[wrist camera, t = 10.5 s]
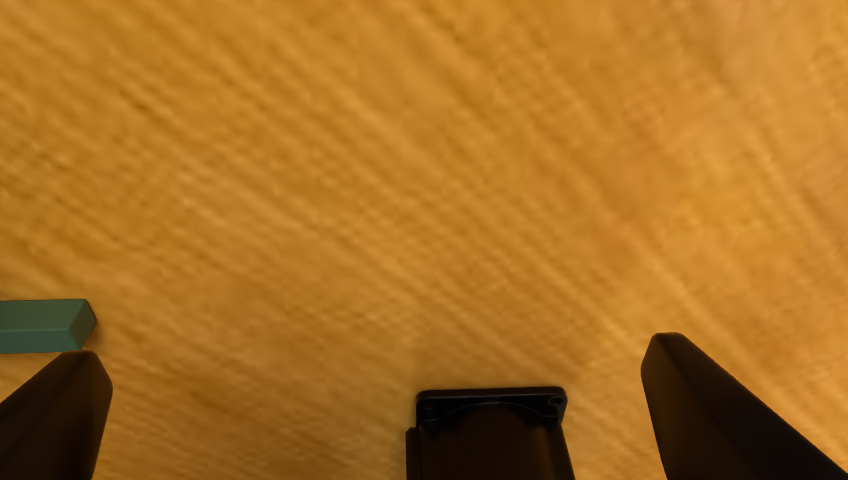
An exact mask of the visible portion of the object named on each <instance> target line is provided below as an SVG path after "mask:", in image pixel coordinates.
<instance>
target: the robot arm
mask: <svg viewBox="0 0 848 480" xmlns="http://www.w3.org/2000/svg"><path fill="white" fill-rule="evenodd" d="M641 378H642V383H643V387H644V391H645V395H646V399H647V404H648V408H649V412H650V416H651V420H652V424H653V429H654V433H655V437H656V441H657V445H658V449H659V453H660V457H661V461H662V464H663V467H664V471H665V474H666V477H667V480H848V473H847V472H845V471H844V470H843V469H842V468H841V467H839V466H838V465H837V464H836V463H835V462H834V461H832V460H831V459H830V458H829V457H828V456H826V455H825V454H824V453H823V452H822V451H820V450H819V449H818V448H817V447H816V446H815V445H813V444H812V443H811V442H810V441H809V440H807V439H806V438H805V437H804V436H803V435H801V434H800V433H799V432H798V431H797V430H796V429H794V428H793V427H792V426H791V425H790V424H788V423H787V422H786V421H785V420H784V419H783V418H781V417H780V416H779V415H778V414H777V413H775V412H774V411H773V410H772V409H771V408H769V407H768V406H767V405H766V404H765V403H764V402H762V401H761V400H760V399H759V398H758V397H756V396H755V395H754V394H753V393H752V392H751V391H749V390H748V389H747V388H746V387H745V386H743V385H742V384H741V383H740V382H739V381H737V380H736V379H735V378H734V377H733V376H732V375H730V374H729V373H728V372H727V371H726V370H724V369H723V368H722V367H721V366H720V365H718V364H717V363H716V362H715V361H714V360H713V359H711V358H710V357H709V356H708V355H707V354H705V353H704V352H703V351H702V350H701V349H700V348H698V347H697V346H696V345H695V344H694V343H692V342H691V341H690V340H689V339H688V338H686V337H685V336H684V335H682V334H680V333H677V332H669V333H656V334H655V335H653V336H652V338H651V340H650V343H649V346H648V348H647V351H646V353H645V356H644V359H643V361H642V365H641ZM112 393H113V386H112V382H111V379H110V377H109V376H108V374H107V372H106V370H105V368H104V366H103V365H102V363H101V361H100V359H99V357H98V355H97V354H96V353H95V352H93V351H92V350H72V351H66V352H64V353H62V354H60V355H59V356H58V357H56V358H55V359H54V360H53V361H51V362H50V363H49V364H48V365H47V366H45V367H44V368H43V369H42V370H40V371H39V372H38V373H37V374H36V375H34V376H33V377H32V378H31V379H29V380H28V381H27V382H26V383H24V384H23V385H22V386H21V387H20V388H18V389H17V390H16V391H15V392H13V393H12V394H11V395H10V396H9V397H7V398H6V399H5V400H4V401H2V402H1V403H0V480H92V477H93V473H94V469H95V465H96V461H97V457H98V453H99V449H100V444H101V440H102V436H103V432H104V428H105V424H106V420H107V415H108V411H109V407H110V403H111V399H112ZM566 405H567V395H566V392H565V390H564V389H563V388H561V387H556V386H555V387H523V388H492V389H461V390H429V391H422V392H420V393H419V394H418V395H417V396H416V427H410V428H409V429H408V430H407V431H406V476H407V480H576V479H575V476H574V472H573V468H572V464H571V460H570V456H569V453H568V449H567V445H566V441H565V437H564V434H563V430H562V426H561V423H562V420H563V416H564V412H565V408H566Z"/></svg>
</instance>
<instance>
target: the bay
mask: <svg viewBox="0 0 848 480" xmlns="http://www.w3.org/2000/svg"><path fill="white" fill-rule="evenodd" d="M95 323H96V319H95V317H94V315H93V313H92V311H91V309H90V307H89V305H88V303H87V301H86V300H85V299H64V300H24V301H0V354H11V353H46V352H66V351H72V350H81V349H82V347H83V345H84V343H85V342H86V340H87V338H88V336H89V334H90V332H91V331H92V329H93V327H94V325H95Z"/></svg>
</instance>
